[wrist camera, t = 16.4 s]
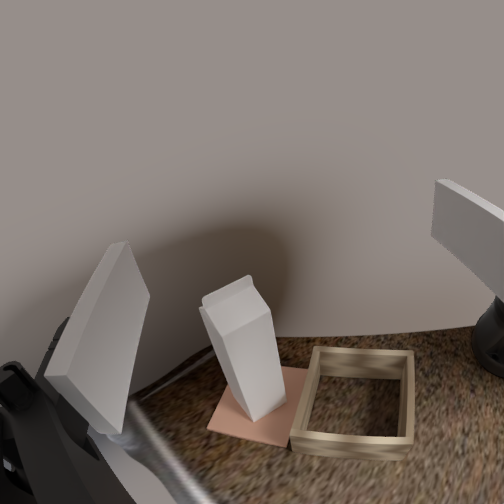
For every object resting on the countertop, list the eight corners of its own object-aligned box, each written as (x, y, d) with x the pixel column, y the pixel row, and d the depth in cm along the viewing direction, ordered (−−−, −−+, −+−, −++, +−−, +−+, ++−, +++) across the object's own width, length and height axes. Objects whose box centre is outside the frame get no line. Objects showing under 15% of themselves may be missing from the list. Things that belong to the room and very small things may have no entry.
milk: (287, 402, 41) (268, 286, 30) (253, 423, 39) (214, 314, 28) (265, 377, 46) (238, 262, 35) (232, 396, 43) (190, 285, 32)
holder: (406, 374, 41) (413, 350, 38) (401, 460, 29) (413, 444, 26) (315, 369, 46) (314, 345, 43) (292, 451, 34) (289, 435, 31)
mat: (308, 371, 46) (308, 369, 46) (286, 447, 35) (286, 446, 35) (239, 362, 50) (239, 360, 50) (207, 429, 39) (206, 428, 39)
